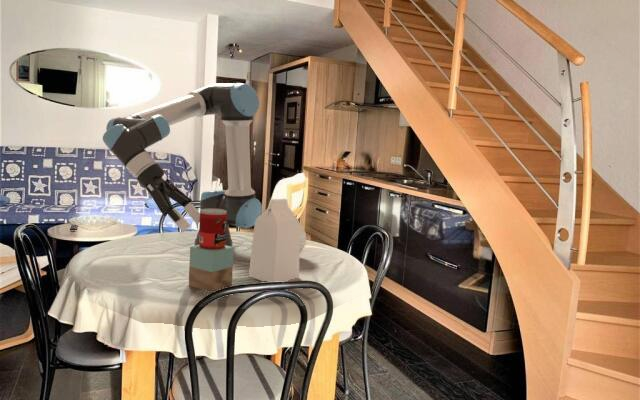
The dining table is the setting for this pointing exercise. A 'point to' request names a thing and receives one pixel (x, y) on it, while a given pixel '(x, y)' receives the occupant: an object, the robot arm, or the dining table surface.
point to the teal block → (211, 258)
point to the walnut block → (210, 278)
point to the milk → (275, 244)
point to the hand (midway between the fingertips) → (194, 224)
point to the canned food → (212, 228)
